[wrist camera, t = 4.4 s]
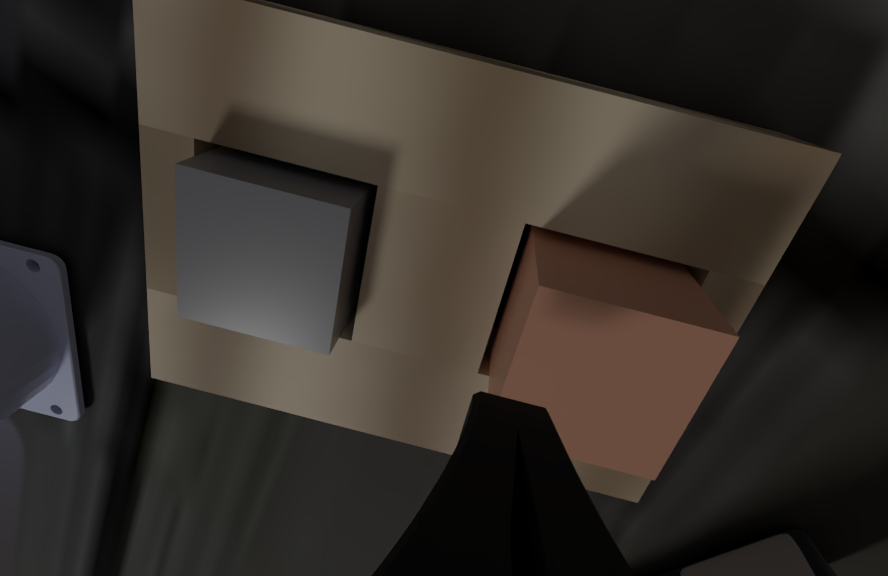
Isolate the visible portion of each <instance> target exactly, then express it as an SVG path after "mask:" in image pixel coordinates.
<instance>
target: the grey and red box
mask: <svg viewBox="0 0 888 576" xmlns="http://www.w3.org/2000/svg"><path fill="white" fill-rule="evenodd" d="M658 576H836V574H835V573H834V571H833V570H832V568H831V567H830V566H829V564H828V563H827V561H826V560H825V559H824V557H823V556H822V554H821V553H820V552H819V550H818V549H817V547H816V546H815V545H814V543H813V542H812V541H811V539H810V538H809V537H808V535H807V534H806V533H805V532H803V531H802V530H799V529H789V530H786V531H783V532H780V533H777V534H775V535H772V536H769V537H766V538H763V539H760V540H758V541H755V542H752V543H749V544H746V545H743V546H741V547H738V548H735V549H732V550H729V551H726V552H724V553H721V554H718V555H715V556H712V557H709V558H707V559H704V560H701V561H698V562H695V563H692V564H690V565H687V566H684V567H681V568H678V569H675V570H673V571H670V572H667V573H664V574H661V575H658Z"/></svg>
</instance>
